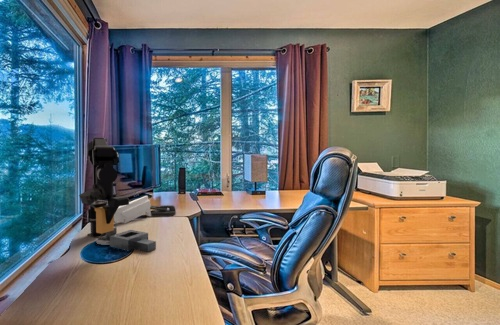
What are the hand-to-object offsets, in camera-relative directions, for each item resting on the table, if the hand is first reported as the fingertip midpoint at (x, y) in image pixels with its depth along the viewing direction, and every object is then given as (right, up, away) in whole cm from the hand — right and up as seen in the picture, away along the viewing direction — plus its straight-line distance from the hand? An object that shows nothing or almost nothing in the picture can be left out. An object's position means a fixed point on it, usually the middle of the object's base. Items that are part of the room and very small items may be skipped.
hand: (105, 223), depth 104 cm
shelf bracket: (-11, -10, +48) cm, 51 cm away
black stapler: (-4, -9, +63) cm, 64 cm away
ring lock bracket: (+3, -11, +10) cm, 15 cm away
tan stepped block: (0, -3, 0) cm, 3 cm away
